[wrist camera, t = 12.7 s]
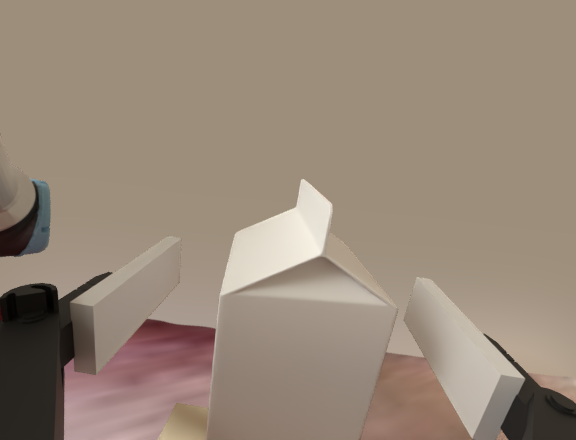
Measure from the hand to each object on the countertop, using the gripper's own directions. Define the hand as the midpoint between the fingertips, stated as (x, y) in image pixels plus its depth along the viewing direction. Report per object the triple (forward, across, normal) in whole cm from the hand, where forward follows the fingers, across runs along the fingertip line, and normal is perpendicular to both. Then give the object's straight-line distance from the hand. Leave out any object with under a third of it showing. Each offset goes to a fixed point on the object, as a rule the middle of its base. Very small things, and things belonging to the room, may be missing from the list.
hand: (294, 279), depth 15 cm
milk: (-3, 0, -17) cm, 17 cm away
